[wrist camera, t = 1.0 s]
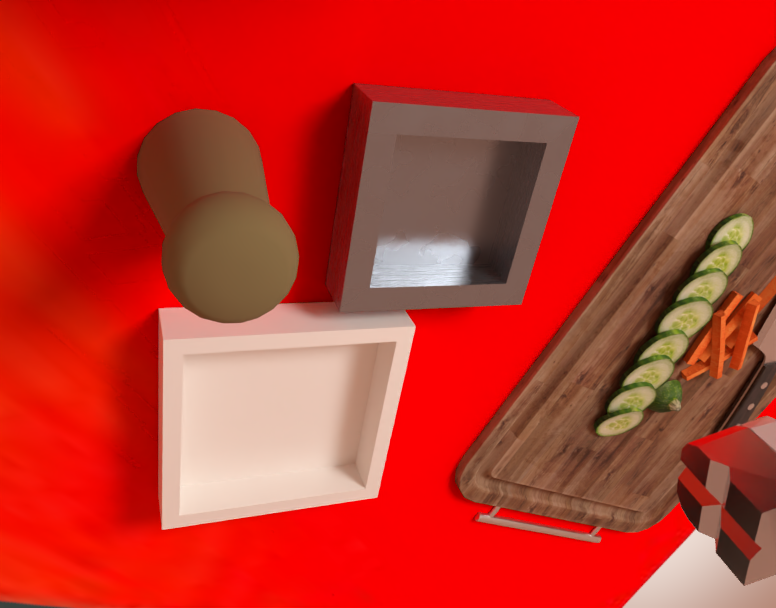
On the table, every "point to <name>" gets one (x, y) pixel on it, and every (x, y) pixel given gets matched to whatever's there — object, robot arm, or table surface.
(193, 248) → the cork
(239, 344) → the tray
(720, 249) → the chopping board
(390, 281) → the grey square shallow box
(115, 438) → the table surface
